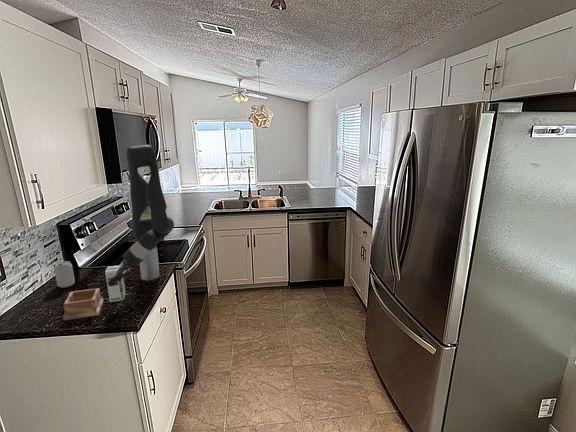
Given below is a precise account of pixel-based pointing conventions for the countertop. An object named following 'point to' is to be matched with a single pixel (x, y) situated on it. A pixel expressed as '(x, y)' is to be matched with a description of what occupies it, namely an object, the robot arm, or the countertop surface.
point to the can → (64, 274)
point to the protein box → (146, 213)
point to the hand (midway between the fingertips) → (111, 281)
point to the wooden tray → (83, 304)
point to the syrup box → (115, 285)
